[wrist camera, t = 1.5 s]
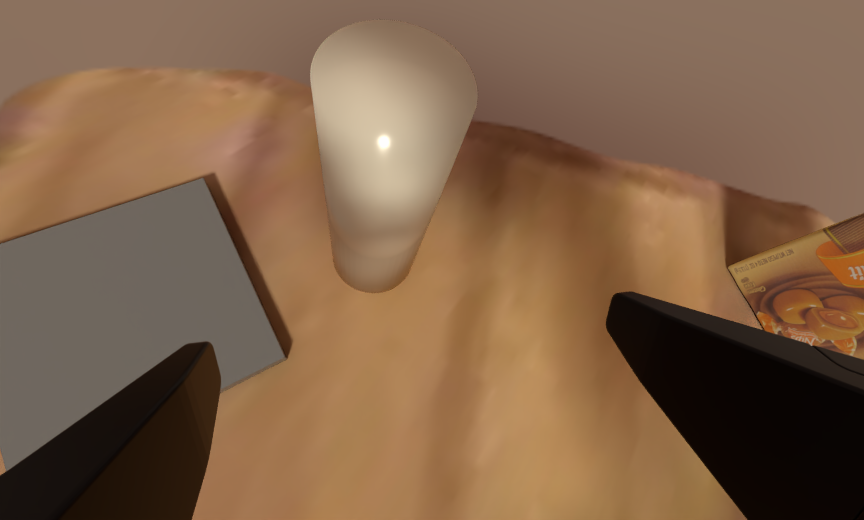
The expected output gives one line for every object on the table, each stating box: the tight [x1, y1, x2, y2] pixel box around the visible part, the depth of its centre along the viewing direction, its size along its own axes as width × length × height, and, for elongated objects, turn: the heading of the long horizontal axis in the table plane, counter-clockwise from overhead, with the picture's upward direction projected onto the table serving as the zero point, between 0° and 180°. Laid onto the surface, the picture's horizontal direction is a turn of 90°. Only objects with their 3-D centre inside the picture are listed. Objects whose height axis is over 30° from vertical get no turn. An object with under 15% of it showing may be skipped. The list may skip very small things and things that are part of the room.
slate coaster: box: [0, 178, 287, 471], centre depth 19 cm, size 11×11×1 cm
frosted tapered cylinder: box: [310, 20, 478, 293], centre depth 17 cm, size 5×5×13 cm
